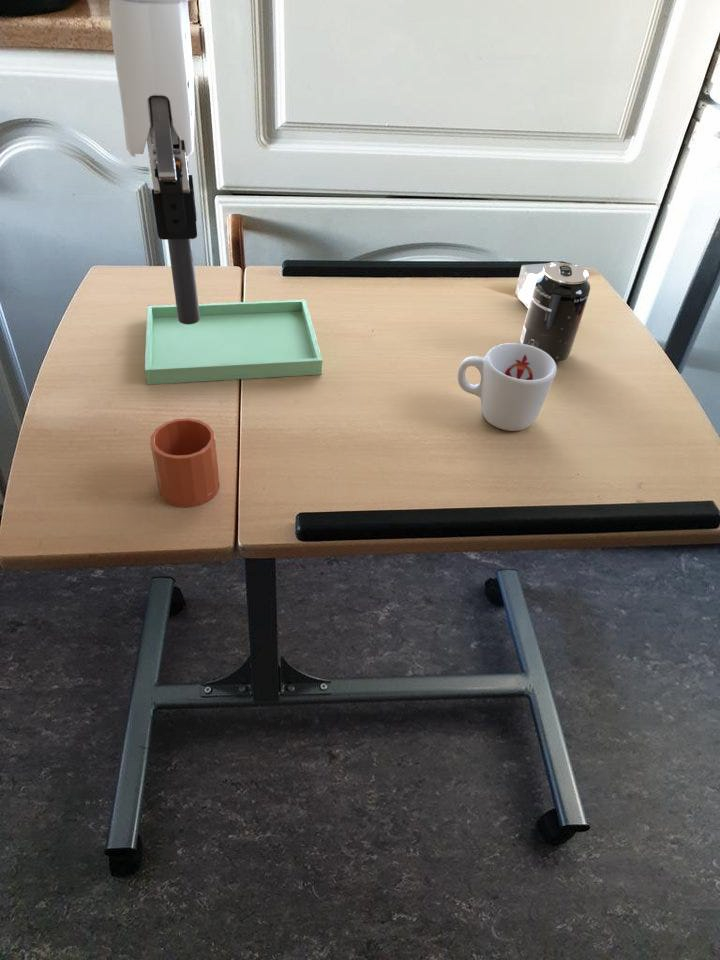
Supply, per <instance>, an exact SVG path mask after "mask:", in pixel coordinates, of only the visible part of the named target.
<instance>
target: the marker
mask: <svg viewBox="0 0 720 960" xmlns="http://www.w3.org/2000/svg"><path fill="white" fill-rule="evenodd" d="M175 165H179V166H180V163H179V162H178V161H175ZM167 246H168V252H169V260H170V261H169V262H170V268H171V276H172V284H173V292H174V299H175V305H176V307H177V315H178V320H179V322H180V323H182V324H194V323H197V322H198V321H199V320H200V315H199V305H198V304H199V297H198V286H197V278H196V272H195V271H196V269H195V261H194V260H195V259H194V251H193V250H194V249H193V242H192V239H170V240H167Z"/></svg>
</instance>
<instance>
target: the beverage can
mask: <svg viewBox="0 0 720 960" xmlns="http://www.w3.org/2000/svg"><path fill="white" fill-rule="evenodd" d="M547 263H548V264H546V265H545V266H544V269H543V272H541V273H540V274H538V275H537V277H536V280H535V283H534V287H533V291H532V295H531V299H530V303H529V307H528V308H527V311H526V315H525V318H524V323H523V327H522V331H521V335H520V339H519V343H521V344H526V345H530V346H534V347H536V348H538V349H541V350H542V351H544V352H546V353H547V354H548V355H550V356H551V357H552V359H553V360H554V361H555V363H556V364H558V363H562V362H564V361H566V360H567V359H569V357H570V355H571V352H572V350H573V347H574V343H575V341H576V338H577V333H578V330H579V328H580V324H581V321H582V318H583V315H584V311H585V308H586V305H587V302H588V299H589V295H590V291H591V284H590V282H589V277H590V273H589V272H588V271H587V269H586V268H585V267H582V266H581V265H579V264H576V263H573V262H568V261H561V260H560V261H559V260H558V261H552V262H547Z"/></svg>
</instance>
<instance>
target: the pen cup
mask: <svg viewBox="0 0 720 960" xmlns="http://www.w3.org/2000/svg"><path fill="white" fill-rule="evenodd" d="M150 448H151V449H150V450H151V454H152V455H151V456H152V461H153V466H154V471H155V476H156V481H157V487H158V491H159V495H160V496H161V498H162V499H163V500H164V501H165V502H167V503H168V504H170V505H172V506H175V507H178V508H193V507H197V506H201V505H203V504H206V503H207V502H209V501H210V500H212V499H214V497H215V496H216V495H217V493H218V492H219V490H220V473H219V464H218V455H217V445H216V436H215V431H214V429H213V428H212V426H211V425H210V424H208V423H207V422H204V421H202V420H200V419H195V418H190V417H183V418H174V419H171V420H169V421H165V422H164V423H161V425H159V426H157V427H155V428H154V430H153V432H152V433H151V435H150Z"/></svg>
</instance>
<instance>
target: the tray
mask: <svg viewBox="0 0 720 960" xmlns="http://www.w3.org/2000/svg"><path fill="white" fill-rule="evenodd" d="M198 305H199V315H200V320H199V321H198V322H197V323H194V324H182V323H180V322H179V320H178V315H177V307H176V304H163V305H162V304H159V305H158V304H157V305H147V306H146V326H145V327H146V329H145V330H146V331H145V349H144V350H145V351H144V354H145V355H144V376H145V382H146V385H147V386H149V385H163V384H164V385H165V384H181V383H200V382H216V381H217V382H219V381H231V380H249V379H250V380H251V379H267V378H285V377H299V376H300V377H302V376H320V375H323V358H322V354H321V351H320V347H319V344H318V340H317V336H316V332H315V329H314V325H313V322H312V319H311V314H310V311H309V308H308V304H307V301H306V299H288V300H285V299H284V300H262V301H236V302H235V301H233V302H211V303H210V302H209V303H207V302H206V303H198Z"/></svg>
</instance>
